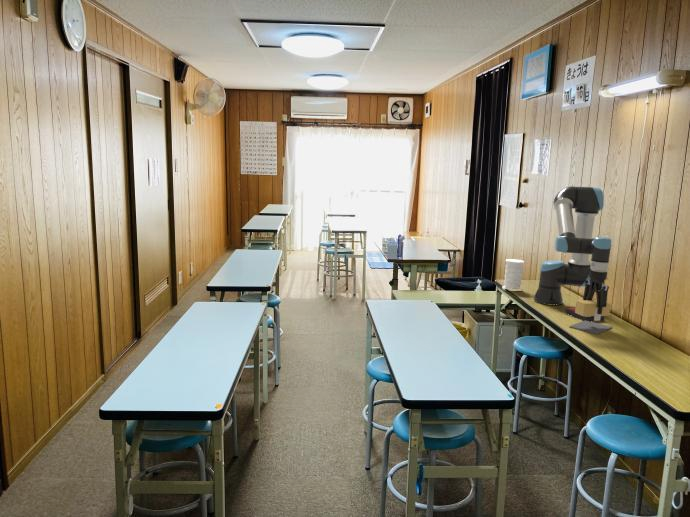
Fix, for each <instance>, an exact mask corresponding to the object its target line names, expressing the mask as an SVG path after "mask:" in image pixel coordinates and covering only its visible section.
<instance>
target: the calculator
mask: <svg viewBox="0 0 690 517" xmlns="http://www.w3.org/2000/svg"><path fill="white" fill-rule="evenodd" d="M575 308H576V307H567V308H565V314H566V313H567V314H566V315H568V314H569V315H568V316H570V315H572V316H571V317H573V316H574V317H573V318H576V317H577V318H576V319H579V318H580V319H579V320H581V319H583V320H586V321H590V322H591V321H594V316H591V317H585V316H581V315H579V314H577V313H575ZM605 317H606V316H601V318H600V321H599V322H604V321H605ZM583 320H582V321H583Z"/></svg>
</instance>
